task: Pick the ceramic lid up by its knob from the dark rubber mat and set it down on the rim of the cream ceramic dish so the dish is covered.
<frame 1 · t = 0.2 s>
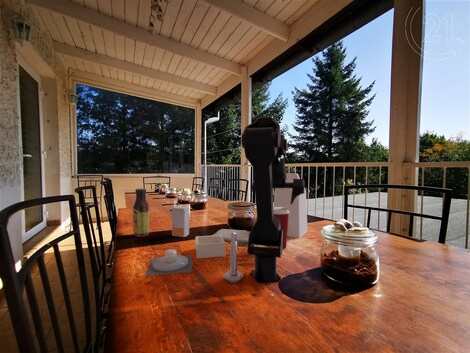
hand: (279, 203, 95), 15 cm above the table, tool tilted 30°, fingers open, 9 cm apart
milk: (290, 233, 108), on the table
screw: (233, 284, 62), on the table
sauce bottle: (141, 236, 104), on the table
mat: (170, 267, 71), on the table
dish: (209, 254, 82), on the table
lid: (170, 264, 71), point 1 cm above the table, touching mat
washcloth: (234, 241, 98), on the table
skincare box: (180, 235, 104), on the table
paper cup: (278, 247, 89), on the table
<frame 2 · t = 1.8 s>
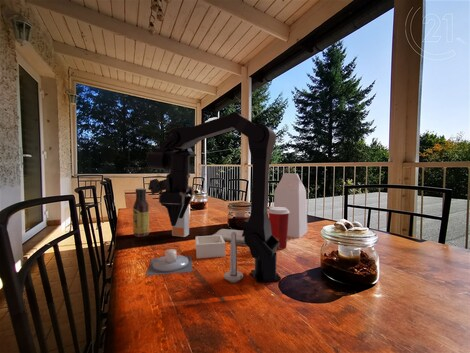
hand: (177, 221, 75), 12 cm above the table, tool pointing down, fingers open, 9 cm apart
nothing on the table moved.
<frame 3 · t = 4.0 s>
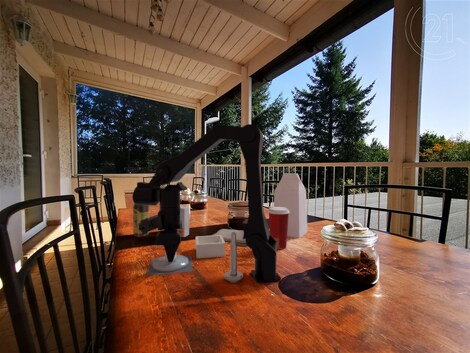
hand: (170, 259, 71), 2 cm above the table, tool pointing down, fingers closed on lid, 3 cm apart
lid: (170, 264, 71), point 1 cm above the table, touching gripper, mat
everything else where it was.
when the fingers open (7 cm above the table, at t = 6.8 s): lid drops 1 cm, resting on dish.
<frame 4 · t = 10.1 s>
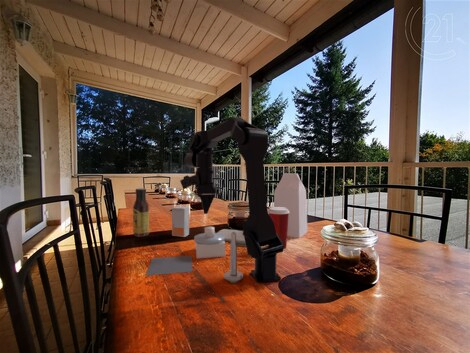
hand: (204, 211, 89), 13 cm above the table, tool pointing down, fingers open, 9 cm apart
lid: (209, 239, 81), point 5 cm above the table, touching dish
everything else where it was.
at the end: lid 0.0 cm from the dish (horizontally); lid point 5.0 cm above the table; the gripper is holding nothing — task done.
